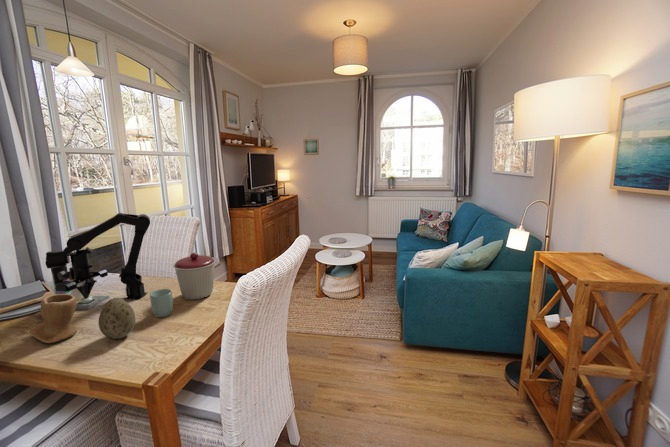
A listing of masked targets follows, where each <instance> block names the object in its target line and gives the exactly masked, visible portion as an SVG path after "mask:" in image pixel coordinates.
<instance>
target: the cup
mask: <svg viewBox="0 0 670 447" xmlns="http://www.w3.org/2000/svg"><path fill="white" fill-rule="evenodd" d="M149 300H150V307H151V311H152V314H153V315H154V317H156V318H165V317H168V316H169V315H171V314H172V312H173V310H174V300H173V292H172V290H171V289H169V288H160V289H157V290H154V291H152V292H150V294H149Z"/></svg>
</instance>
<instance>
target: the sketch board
mask: <svg viewBox="0 0 670 447" xmlns="http://www.w3.org/2000/svg"><path fill="white" fill-rule="evenodd" d="M90 296H91V297H92V300H93V301H92V302H90V303H86V304H81V301H76V309H75V311H76V310H77V311H83V310H84V311H88V310H89V311H90V310H91V309H93V308H95V307H96V306H98V305H99V304H102V302H105V301H106V300H108V299H109V298H110V296H109V295H90Z"/></svg>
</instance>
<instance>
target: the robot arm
mask: <svg viewBox="0 0 670 447" xmlns="http://www.w3.org/2000/svg"><path fill="white" fill-rule="evenodd" d="M120 224H125V225H129V226H133V227H134V236H133V240H132V243H131V247H130V251H129V254H128V257H127V261H126V264H122V265H121V267H120V268H121V269H120V271H119V275H118V278H120V282H121V283H122V284H124V285H125V295H126V297H125V298H124V299H125V300H140V299H141V298H143V297H145V296H146V295H147V294H148V292H146V291H145V284H144V282H142V281H143V280H142V279H143V278H142V277H143V276H142V275H141V274H138V273H137V263H138V259H139V256H140V252H141V248H142V244H143V240H144V236H145V235H146V232H147V231H148V229H149V227H150V225H151V218H150V216H148V215H147V214H145V213H142V214H141V213H140V214H133V213H132V214H131V213H123V212H118V213H116V215H113V216H112V217H110V218H108V219H106V220H105V221H103V222H101V223H99V224H97V225H96V226H94V227H92V228H90V229H87V230H85V231H81V232H79V233H76V234H73V235H71V236H70V237H69V239H67V241H66V247H65V248H64V249H63V250H57V251H56V250H55V251H47V252H46V253H45V266H46V268H47V269H49V270H50V269H51V268H56V267H64V266H66V265H67V264H70V263H71V267H69V270H68V272H65V271H62V272H59V273H57V275H58V278H59V280H61V279H64V282H61V283H58V284H57V285H56V286H55V288H56V291H64V292H68V291H71V290H73V289H75V288H77V289H78V290H79V292H80V293H81V294H82V296H83V297H84V298H88V297H89V296H90V293H91V292H92V290H93V288H94V286H95V283H97V280H95V278H96V277H98V276H99V277H100V278H106V277H107V276H109V273H108V271H107V269H100V268H96V269H93V270H91V268H93V265H92V264H90V261H89V254H92V253H93V251H94V250H93V249H91V248H90V247H89V246H87V245H88V244H89V243H91V242H92V241H93V240H94V239H96V237H99V236H101V235H102V234H104V233H106V232H108V231H110V230H111V229H113V228H115V227H117V226H118V225H120ZM86 246H87V247H86ZM85 247H86V248H85ZM83 248H85V249H83ZM67 266H68V265H67ZM69 278H70V280H73V279H74V281H65V280H67V279H69ZM55 288H54V289H55Z"/></svg>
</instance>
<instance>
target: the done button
mask: <svg viewBox="0 0 670 447" xmlns="http://www.w3.org/2000/svg"><path fill="white" fill-rule="evenodd" d="M91 296H92V295H89V297H88V298H84V297H83V298H81V299H80V301H81V304H86V303H90V302H92V301H93V300H92V297H91Z"/></svg>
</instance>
